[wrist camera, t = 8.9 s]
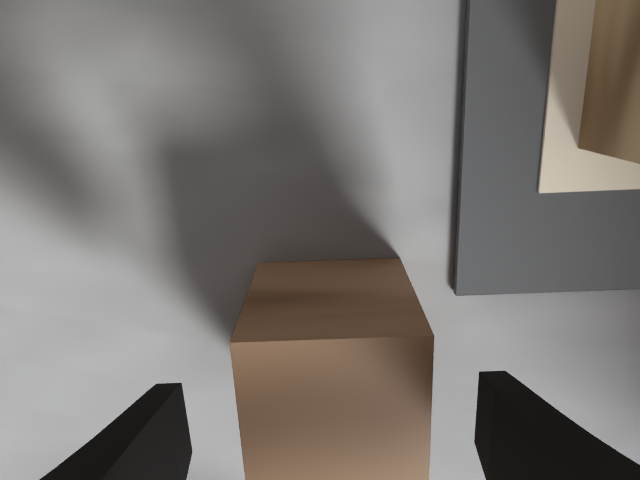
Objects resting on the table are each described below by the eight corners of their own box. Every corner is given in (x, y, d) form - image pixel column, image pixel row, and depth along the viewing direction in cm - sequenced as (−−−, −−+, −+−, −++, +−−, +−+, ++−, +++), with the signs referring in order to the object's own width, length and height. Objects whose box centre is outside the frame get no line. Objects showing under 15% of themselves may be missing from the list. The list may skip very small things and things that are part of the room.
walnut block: (398, 377, 17) (428, 496, 12) (269, 382, 17) (247, 501, 12) (399, 256, 15) (434, 335, 10) (258, 262, 15) (229, 342, 11)
